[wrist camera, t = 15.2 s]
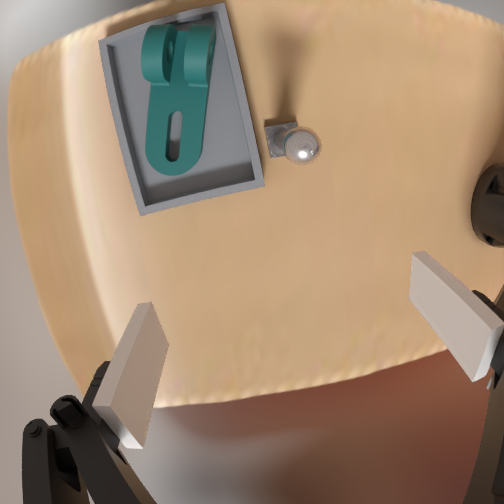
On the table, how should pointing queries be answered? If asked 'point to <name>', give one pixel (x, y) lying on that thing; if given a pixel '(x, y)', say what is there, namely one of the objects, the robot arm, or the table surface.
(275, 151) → the ball stud
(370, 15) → the table surface
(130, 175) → the bin
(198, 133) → the bracket
